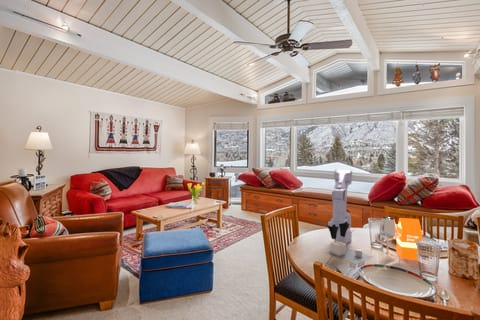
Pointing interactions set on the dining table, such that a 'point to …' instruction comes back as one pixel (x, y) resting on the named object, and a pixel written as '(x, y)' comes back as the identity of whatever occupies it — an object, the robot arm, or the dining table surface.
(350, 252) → the shaft base
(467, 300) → the dining table surface
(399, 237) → the orange juice
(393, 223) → the wineglass
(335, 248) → the white piece
